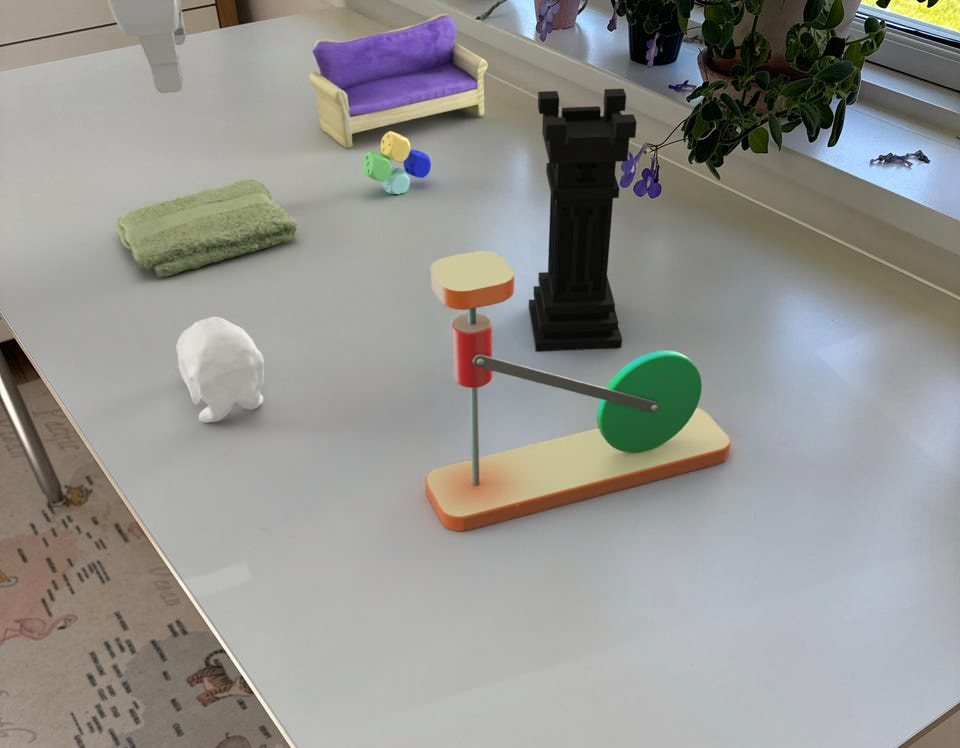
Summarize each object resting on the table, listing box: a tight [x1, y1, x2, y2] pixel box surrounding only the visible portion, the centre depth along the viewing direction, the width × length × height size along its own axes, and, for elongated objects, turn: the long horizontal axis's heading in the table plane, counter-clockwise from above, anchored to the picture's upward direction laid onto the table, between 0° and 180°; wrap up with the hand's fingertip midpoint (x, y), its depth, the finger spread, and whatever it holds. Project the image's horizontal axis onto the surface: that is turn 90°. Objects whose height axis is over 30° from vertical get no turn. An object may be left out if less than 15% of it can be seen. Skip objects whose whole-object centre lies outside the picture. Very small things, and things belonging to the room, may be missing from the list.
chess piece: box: [528, 88, 638, 352], centre depth 92 cm, size 8×8×20 cm
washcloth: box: [114, 177, 299, 278], centre depth 112 cm, size 13×18×3 cm
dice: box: [361, 130, 432, 195], centre depth 118 cm, size 8×3×6 cm, turn 120°
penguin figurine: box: [173, 316, 265, 424], centre depth 90 cm, size 6×8×12 cm
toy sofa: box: [308, 13, 489, 149], centre depth 130 cm, size 21×9×10 cm, turn 119°
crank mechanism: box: [425, 250, 731, 532], centre depth 77 cm, size 25×7×19 cm, turn 111°
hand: (172, 64), depth 74 cm, fingers open, 8 cm apart
